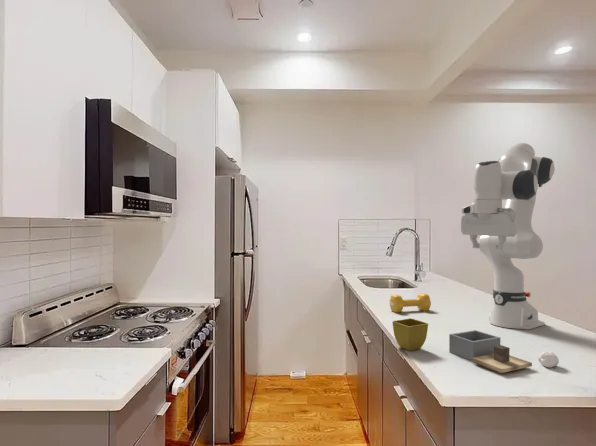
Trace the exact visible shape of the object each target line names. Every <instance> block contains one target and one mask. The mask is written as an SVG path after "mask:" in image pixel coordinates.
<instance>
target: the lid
mask: <svg viewBox="0 0 596 446" xmlns="http://www.w3.org/2000/svg"><path fill="white" fill-rule="evenodd" d="M471 362H473V363H476V364H479V366H481V367H484V368H487V369H489V370H492V371H493V372H494V371H495V372H497V373H500V374H505V373H508V372H509V373H510V372H513V371H517V370H522V369H526V368H529V367H530V368H531V367H532V366H533V362H531V361H528V360H526V359H525V360H524V359H522V358H519V357H516V356H513V355H510V347H507V346H505V345H502V344H500V345H499V346H494V354H490V355H485V356H480V357H474V358H472V361H471Z"/></svg>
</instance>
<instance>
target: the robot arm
mask: <svg viewBox="0 0 596 446" xmlns="http://www.w3.org/2000/svg"><path fill="white" fill-rule="evenodd" d="M535 155H536V151H535V149H534V148H533V146H532V145H530V144H529V143H525V142H522V143H521V142H519V143H517V144H514V145H513V146H511V147H509V148H508V149H507V150H506V151H505V152H504V153H503V154H502V155H501V157H500V158H499V159H498V160H489V161H481V162H477V164H476V165H475V169H474V175H473V188H474V197H473V203H471V204H469V205H466V206H464V207H462V208H461V214H462V215H461V218H460V219H461V220H460V232H461V234H462V235H463V236H464V235H465V236H466V235H467V236H469V239H470V241H471V244H472V249H479V251H480V252H481V254H483V256H485V257H486V259H487V260H488V261H489V262H490V263H489V264H490V265H491V268H492V272H493V281H494V283H493V284H494V285H493V288H494V289H493V290H492V298H493V301H492V303H491V309H490V310H491V311H490V317H488V321H489V323H490V325H493V326H497V327H501V328H507V329H508V328H509V329H520V330H531V329H535V328H538V327H542V326H544V325H545V324H546V323H545V321H543V320H540V319H539V312H538V309H537V308H535V306H534V305H532V304H530V302H529V301H527V298H531V295H532V293H531V292H529V291H524V290H525V289H524V285H525V284H524V282H525V280H524V278H525V276H524V273H523V271H522V270H521V269H519V268H518V267H517V266H515V264H513V261H512V259H519V260H529V259H537V258H538V257H539V256H540V255H541V254H542V252H543V250H544V243H543V241H542V238H541V237H540V236H539V235H538V234H537V233H536V232H535V230H534V228H533V227H532V217H533V213H534V209H535V204H536V199H537V192H538V189H539V188H542V187H543V185H545V184H548V183H549V182H550V181H551V180H552V178H553V176H554V174H555V170H556V169H555V163H554V161H553V159H552V158H549V157H545V156H543V157H539V156H535ZM503 200H505V203H504V207H503ZM478 236H479V239H478ZM477 239H478V240H477Z"/></svg>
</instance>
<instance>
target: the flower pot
mask: <svg viewBox="0 0 596 446" xmlns="http://www.w3.org/2000/svg"><path fill="white" fill-rule="evenodd" d="M428 328H429V323H428V322H425V321H422V320H418V319H415V318H405V319H404V318H403V319H399V320H398V319H397V320H392V329H393V336H394V339H395V341H396V344H398V346H399V348H402V349H404V350H407V351H409V352H410V351H414V350H420V349H422V347H423V346H424V344H425V342H426V340H427V336H428Z"/></svg>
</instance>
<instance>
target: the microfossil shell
mask: <svg viewBox="0 0 596 446" xmlns="http://www.w3.org/2000/svg"><path fill="white" fill-rule="evenodd" d="M537 360H538V362H539V363H540V364H541V365H542V366H544V367H545V368H553V367H554V368H555V367H556V366H558V365H559V363H560V360H559V358H558V356H557V355H556V354H555V353H554V352H549V351H542V352H541V353H540V354H539V355H538V357H537Z"/></svg>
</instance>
